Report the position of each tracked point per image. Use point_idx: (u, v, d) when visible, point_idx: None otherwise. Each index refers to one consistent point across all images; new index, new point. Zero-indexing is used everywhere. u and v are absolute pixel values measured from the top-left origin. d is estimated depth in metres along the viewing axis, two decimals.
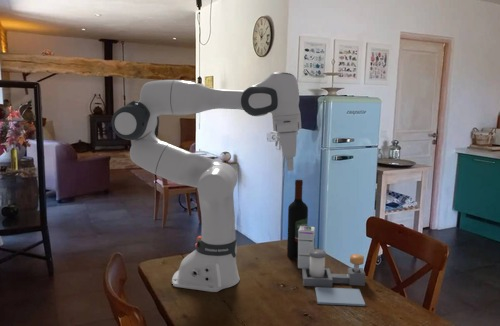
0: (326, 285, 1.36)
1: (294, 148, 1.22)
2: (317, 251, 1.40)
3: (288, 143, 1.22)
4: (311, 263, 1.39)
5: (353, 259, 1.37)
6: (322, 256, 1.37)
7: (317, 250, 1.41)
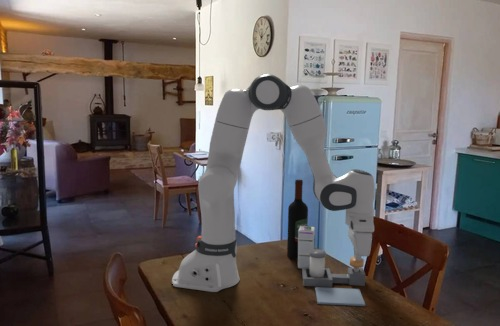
0: (326, 285, 1.36)
1: (369, 249, 1.28)
2: (317, 251, 1.40)
3: (364, 243, 1.28)
4: (311, 263, 1.39)
5: (353, 262, 1.37)
6: (322, 256, 1.37)
7: (317, 250, 1.41)
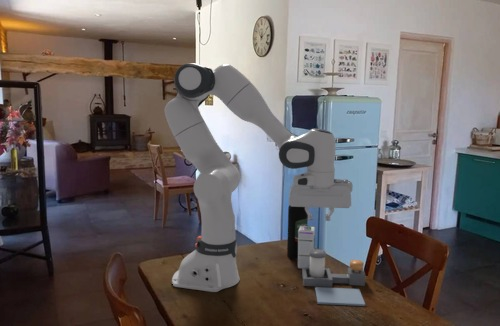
0: (326, 285, 1.36)
1: (289, 198, 1.36)
2: (317, 251, 1.40)
3: None
4: (311, 263, 1.39)
5: (353, 265, 1.37)
6: (322, 256, 1.37)
7: (317, 250, 1.41)
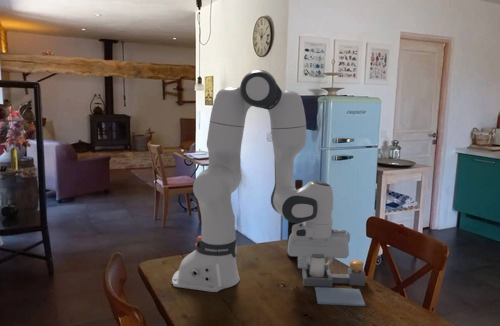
0: (326, 285, 1.36)
1: None
2: None
3: (288, 242, 1.40)
4: (311, 263, 1.39)
5: (353, 265, 1.37)
6: (322, 256, 1.37)
7: None
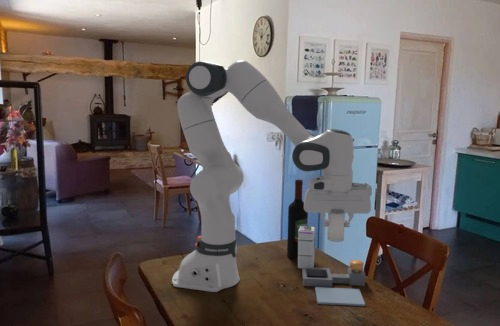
0: (326, 285, 1.36)
1: (304, 204, 1.27)
2: None
3: (304, 198, 1.29)
4: (330, 220, 1.28)
5: (353, 265, 1.37)
6: (342, 211, 1.26)
7: None
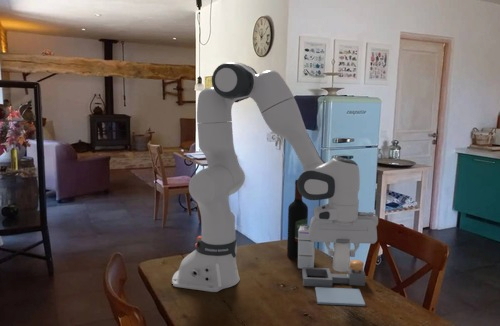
0: (326, 285, 1.36)
1: (309, 233, 1.25)
2: None
3: (309, 226, 1.26)
4: (335, 249, 1.25)
5: (353, 265, 1.37)
6: (348, 241, 1.24)
7: None
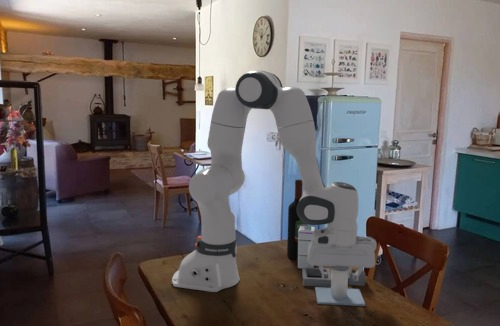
0: (326, 285, 1.36)
1: (308, 257, 1.26)
2: None
3: (308, 250, 1.28)
4: (333, 276, 1.27)
5: None
6: (345, 269, 1.25)
7: None
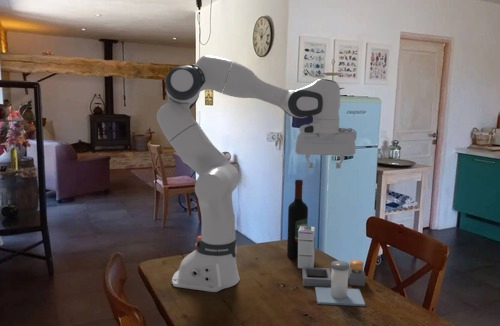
0: (326, 285, 1.36)
1: (296, 146, 1.42)
2: (339, 263, 1.28)
3: (296, 141, 1.43)
4: (333, 276, 1.27)
5: (353, 265, 1.37)
6: (346, 268, 1.26)
7: (339, 262, 1.29)
